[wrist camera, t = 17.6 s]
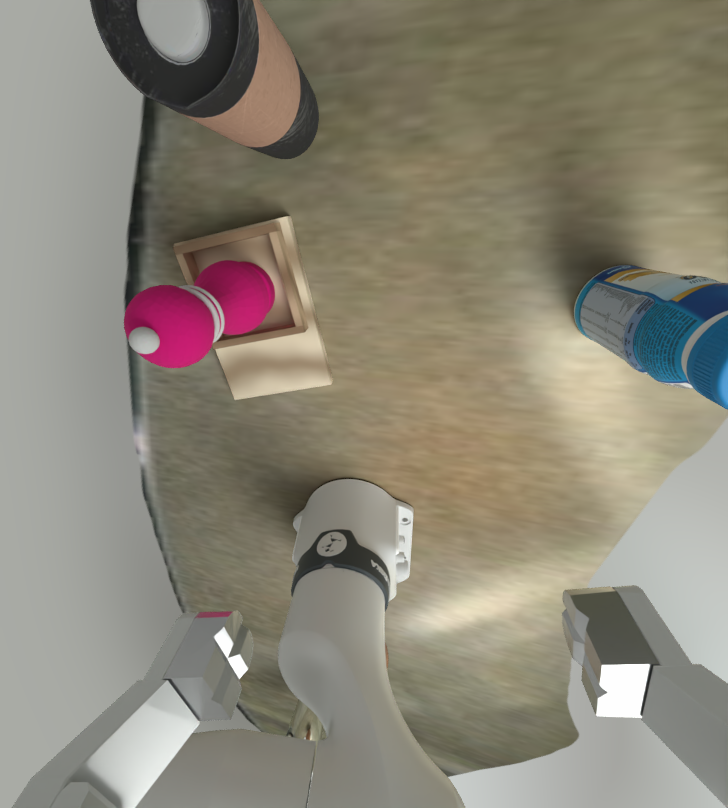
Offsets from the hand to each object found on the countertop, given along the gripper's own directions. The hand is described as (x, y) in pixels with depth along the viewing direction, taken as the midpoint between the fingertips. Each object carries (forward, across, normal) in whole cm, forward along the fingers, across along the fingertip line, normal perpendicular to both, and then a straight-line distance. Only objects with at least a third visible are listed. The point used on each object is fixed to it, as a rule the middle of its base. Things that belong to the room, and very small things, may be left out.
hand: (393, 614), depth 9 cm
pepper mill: (+36, -16, +5) cm, 40 cm away
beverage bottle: (+37, +23, -4) cm, 44 cm away
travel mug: (+37, -8, +20) cm, 43 cm away
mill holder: (+37, -16, +2) cm, 40 cm away
